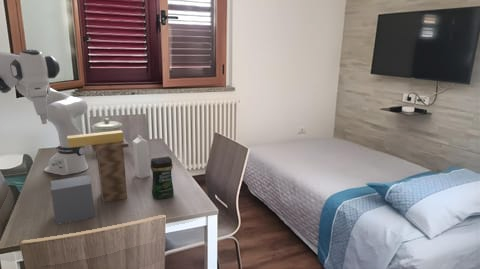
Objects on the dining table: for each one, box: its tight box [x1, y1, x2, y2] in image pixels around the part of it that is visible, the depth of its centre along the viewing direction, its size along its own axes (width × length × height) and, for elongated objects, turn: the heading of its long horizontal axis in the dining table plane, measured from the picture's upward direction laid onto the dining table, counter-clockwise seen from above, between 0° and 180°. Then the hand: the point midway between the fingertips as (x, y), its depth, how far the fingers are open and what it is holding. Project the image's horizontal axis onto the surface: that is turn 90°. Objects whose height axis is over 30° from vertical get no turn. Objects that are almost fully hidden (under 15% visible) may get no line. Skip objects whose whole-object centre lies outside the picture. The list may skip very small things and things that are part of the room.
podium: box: [50, 174, 96, 225], centre depth 139 cm, size 14×10×14 cm
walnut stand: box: [90, 138, 130, 203], centre depth 156 cm, size 14×14×26 cm
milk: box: [132, 134, 151, 179], centre depth 181 cm, size 6×6×22 cm
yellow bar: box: [67, 129, 125, 148], centre depth 150 cm, size 22×4×4 cm, turn 118°
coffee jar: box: [150, 155, 175, 200], centre depth 157 cm, size 10×8×19 cm
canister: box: [91, 117, 123, 133], centre depth 224 cm, size 18×18×21 cm
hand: (44, 121), depth 150 cm, fingers open, 8 cm apart
